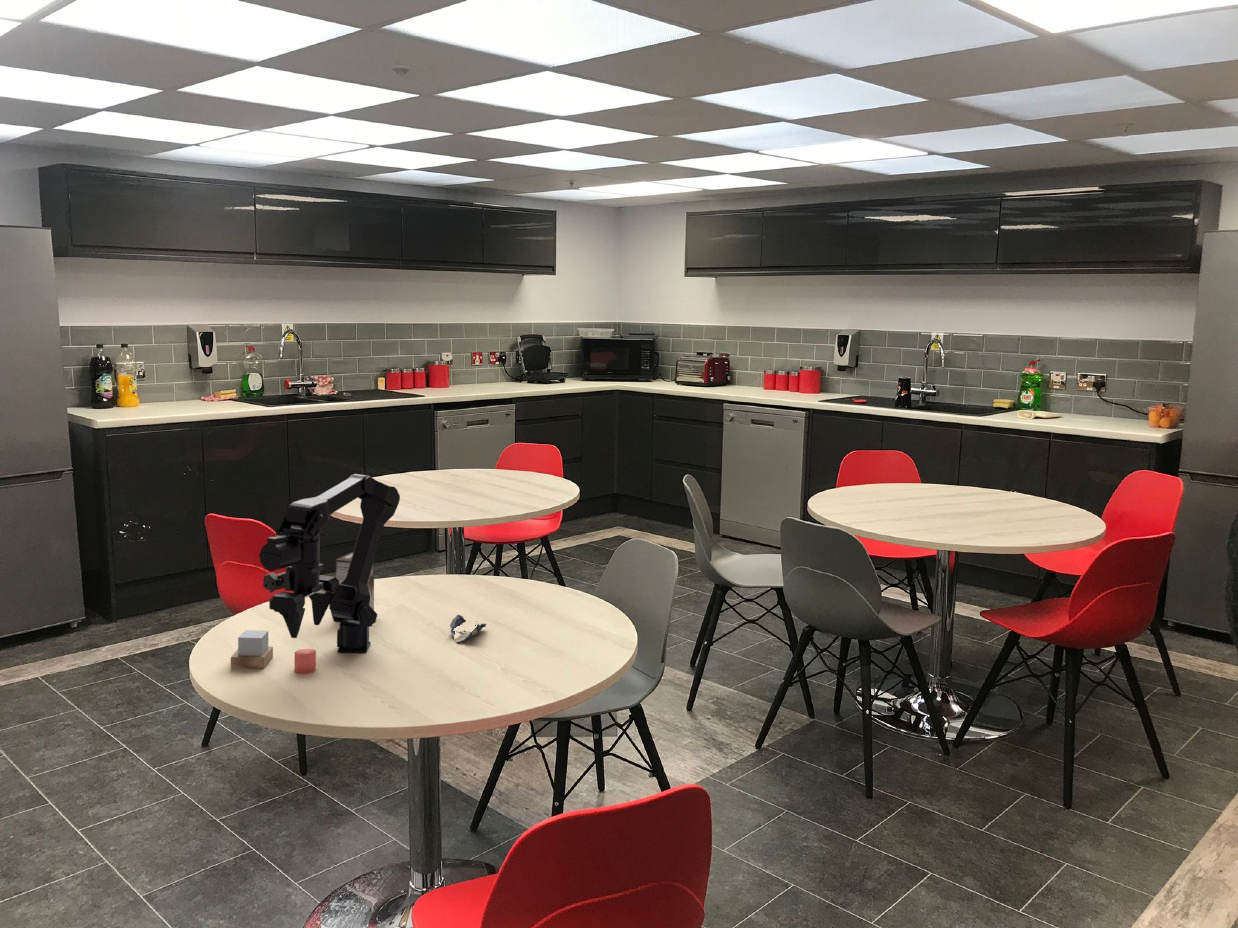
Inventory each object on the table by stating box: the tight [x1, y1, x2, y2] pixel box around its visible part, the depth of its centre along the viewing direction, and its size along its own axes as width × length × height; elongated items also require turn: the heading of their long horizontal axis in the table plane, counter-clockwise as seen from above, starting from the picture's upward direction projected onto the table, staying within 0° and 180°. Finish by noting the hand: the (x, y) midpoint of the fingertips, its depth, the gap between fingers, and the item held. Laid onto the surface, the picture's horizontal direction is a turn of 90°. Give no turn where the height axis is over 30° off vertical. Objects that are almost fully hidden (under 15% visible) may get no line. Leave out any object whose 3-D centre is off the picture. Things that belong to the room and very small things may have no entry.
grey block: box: [237, 629, 269, 656], centre depth 204 cm, size 5×5×4 cm
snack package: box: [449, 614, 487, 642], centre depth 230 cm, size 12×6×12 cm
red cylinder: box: [294, 648, 317, 675], centre depth 202 cm, size 4×4×4 cm
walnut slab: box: [230, 646, 274, 670], centre depth 204 cm, size 7×7×3 cm
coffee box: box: [335, 551, 375, 611], centre depth 239 cm, size 9×6×16 cm
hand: (305, 631), depth 201 cm, fingers open, 9 cm apart
